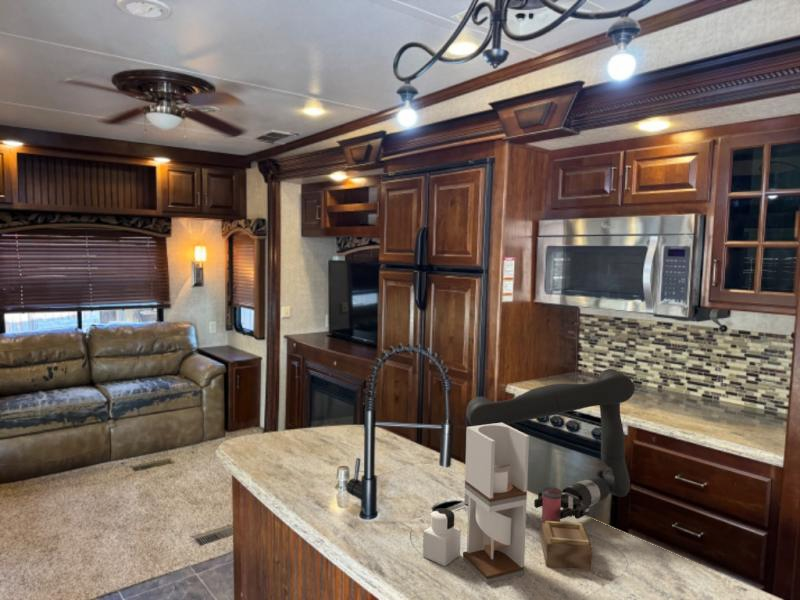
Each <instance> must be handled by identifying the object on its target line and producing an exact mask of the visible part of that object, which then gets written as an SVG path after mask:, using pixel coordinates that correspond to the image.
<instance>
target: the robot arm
mask: <svg viewBox="0 0 800 600" xmlns="http://www.w3.org/2000/svg"><path fill="white" fill-rule="evenodd" d="M635 389H636V388H635V384H634V382H633V381H632V379H631V378H630V377H629V376H628V375H626V374H624V373H622V372H621V371H619V370H617V369H614V368H606V369H604V370H603V371H600V373H599V374H598V376H597V378H596V381H592V382H588V383H554V384H548V385H544V386H542V385H541V386H539V387H535V388H532V389H530V390H528V391H526V392H523V393H522V394H520V395H517V396H516V397H512V398H511V399H506V400H499V401H492V400H491V399H489V398H488V397H486V396H475V397H473V398H472V399H471V400H469V402H468V403H467V405H466V411H465V432H466V431H467V427H471V426H478V425H486V424H494V423H504V424H506V425H508V426H509V425H510V424H513V423H518V422H524V421H529V420H530V421H531V420H535V419H540V418H545V417H552V416H556V415H560V414H561V415H562V414H564V413H569V412H573V411H578V410H582V409H585V408H590V407H595V406H596V407H598V406H599V412H600V433H601V435H600V437H601V439H600V440H601V441H600V459H601V462H602V463H603V464H604V465H606V466H607V467H608V468H599V469H598V470H597V471H596V472H595V473H594V474H593V476H591V477H590V478H588V479H584V480H580V481H577V482H574V483H572V484H570V485H567V486H565V487H564V488H563V490H561V491H562V497H561V508H562V509H561V510H560V511H559V512H558V518H559V519H560V520H562V519H566V518H568V517H569V518H573V517H574V519H576V520H577V519H580V518H584V517H585V516H586V515H588V514H590V507H592V506H594V505H596V504H597V503H599V502H602V501H603V500H605V499H606V498H607V497H609V494H610V495H612V496H616V497H619V498H623V497H626V496H627V495H628V494H629V492H630V489H631V480H630V475H629V472H628V466H627V463H626V458H625V456H626V455H625V454H626V441H625V440H626V439H625V432H624V428H623V423H622V419H621V416H622V415H621V404H622V403H624V402H625V403H626V402H627V401H628V400H630V399H631V398H632V397H633V396H634V393H635ZM609 468H610V469H609ZM537 496H538V497H537V498H536V499H534V502H533V503H534V504H533V507H534V508H536V509H538V508H541V507H542V504H543V490H542V491H539V492H538V494H537ZM468 497H469V496H468V495H467V494H465V493H464V505H468Z"/></svg>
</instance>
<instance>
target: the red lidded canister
mask: <svg viewBox="0 0 800 600" xmlns="http://www.w3.org/2000/svg"><path fill="white" fill-rule="evenodd" d="M542 491H543V504H542V506H541V507H542V508H541V509H542V510H541V524H542V523H545V521H555V522H561V519H559V518H558V512H559V511H560V510H562V509H561V508H562V507H561V497H562V491H563V490H561V489H559V488H557V487H553V486H545V487H543V488H542ZM541 532H542V528H541Z"/></svg>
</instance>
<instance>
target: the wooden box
mask: <svg viewBox="0 0 800 600" xmlns="http://www.w3.org/2000/svg"><path fill="white" fill-rule="evenodd" d="M541 529H542V531H541V535H540V536H541V537H540V545H541V551H542V554H543V557H544V563H545V567H548V568H549V567H550V568H559V569H560V568H561V569H572V570H584V571H585V570H586V571H592V565H593V564H592V563H593V545H592V543H591V540H590V538H589V536H588V533H587V531H586V528H585V526H584V525H583V523H577V522H565V521H560V522H555V521H545V523H542V522H541Z"/></svg>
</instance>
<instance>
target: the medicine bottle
mask: <svg viewBox="0 0 800 600" xmlns="http://www.w3.org/2000/svg"><path fill="white" fill-rule="evenodd" d="M461 535H462V530H461V529H460V528H458V527H455V513H454V512H453V511H452V510H450V509H448V508H440V507H439V508H435V509H434V510H432V511H431V513H430V526H429V527H428V528H426V529H424V530H423V542H422V543H423V544H422V549H423V550H422V557H423V558H425V559H428V560H429V561H432V562H434V563H436V564H439V565H441V566H443V567H446V566H447V565H449V564H450V563H451V562H453V561H454V560H456V559H457V558H459V557H460V555H461V539H462V536H461Z"/></svg>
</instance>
